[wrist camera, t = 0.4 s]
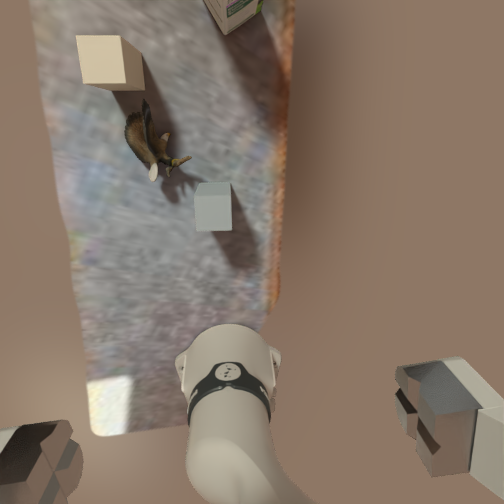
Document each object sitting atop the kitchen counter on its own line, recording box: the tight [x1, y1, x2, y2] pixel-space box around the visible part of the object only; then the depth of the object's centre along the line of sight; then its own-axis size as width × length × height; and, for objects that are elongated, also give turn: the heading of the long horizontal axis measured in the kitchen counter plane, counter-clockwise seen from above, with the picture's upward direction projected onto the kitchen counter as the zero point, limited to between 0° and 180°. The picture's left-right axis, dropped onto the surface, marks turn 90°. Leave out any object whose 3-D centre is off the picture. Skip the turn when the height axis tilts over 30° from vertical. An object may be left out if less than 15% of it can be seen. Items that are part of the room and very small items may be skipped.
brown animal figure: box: [124, 99, 192, 182], centre depth 48 cm, size 8×7×9 cm
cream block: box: [76, 36, 145, 91], centre depth 42 cm, size 4×4×10 cm
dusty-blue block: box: [194, 182, 232, 231], centre depth 49 cm, size 4×4×10 cm
